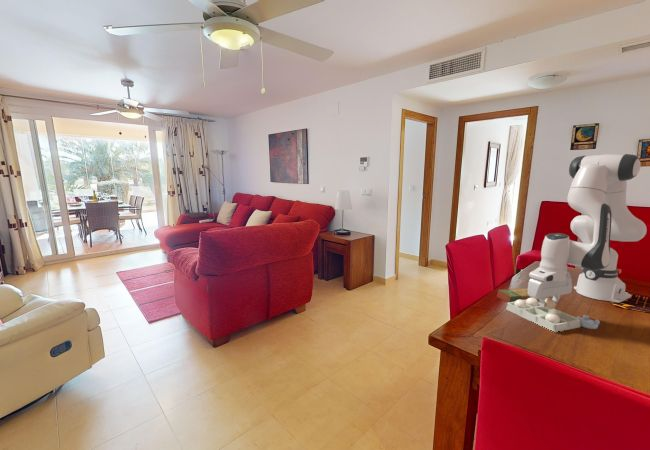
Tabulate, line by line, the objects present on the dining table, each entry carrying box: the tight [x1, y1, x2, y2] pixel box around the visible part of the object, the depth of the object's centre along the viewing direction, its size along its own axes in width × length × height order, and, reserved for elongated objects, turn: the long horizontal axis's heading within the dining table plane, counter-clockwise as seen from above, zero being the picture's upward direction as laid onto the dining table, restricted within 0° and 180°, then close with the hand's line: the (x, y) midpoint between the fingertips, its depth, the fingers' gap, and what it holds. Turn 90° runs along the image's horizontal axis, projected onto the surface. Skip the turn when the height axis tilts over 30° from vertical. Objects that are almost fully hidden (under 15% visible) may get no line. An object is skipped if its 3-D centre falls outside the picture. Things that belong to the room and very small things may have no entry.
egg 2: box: [526, 298, 540, 307], centre depth 126 cm, size 5×5×5 cm
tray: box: [505, 300, 582, 333], centre depth 119 cm, size 14×20×3 cm
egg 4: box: [545, 313, 560, 324], centre depth 111 cm, size 5×5×5 cm
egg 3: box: [544, 297, 557, 310], centre depth 119 cm, size 5×5×5 cm
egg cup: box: [576, 314, 600, 330], centre depth 113 cm, size 6×6×3 cm
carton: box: [496, 287, 540, 304], centre depth 137 cm, size 8×16×4 cm, turn 96°
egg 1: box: [514, 299, 527, 309], centre depth 124 cm, size 5×5×5 cm
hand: (548, 305), depth 119 cm, fingers closed on egg 3, 5 cm apart
